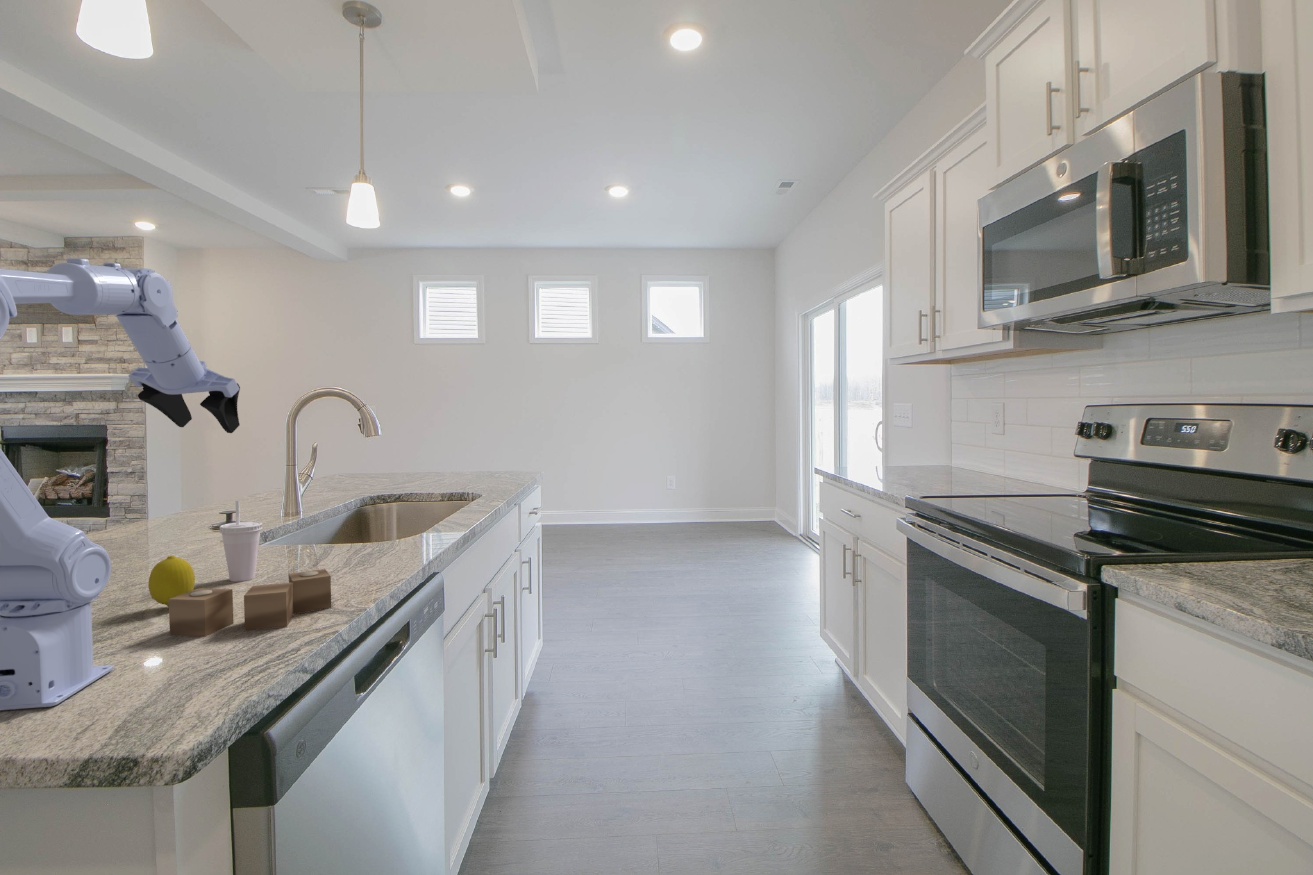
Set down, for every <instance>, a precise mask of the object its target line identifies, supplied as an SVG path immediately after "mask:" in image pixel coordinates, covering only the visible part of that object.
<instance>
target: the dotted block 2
mask: <svg viewBox="0 0 1313 875" xmlns="http://www.w3.org/2000/svg"><path fill="white" fill-rule="evenodd" d="M331 578H332V577H331V574H330V573H329V572H328V570H326V568H323V569H322V568H321V569H316V570H315V569H314V570H307V571H299V572H294V573H288V583H292V582H293V615H297V614H301V613H309V612H313V610H315V611H319V610H320V609H321V610H324V609H323V608H327V609H332V585H331V584H332V583H331V582H332V580H331ZM308 611H309V612H308Z"/></svg>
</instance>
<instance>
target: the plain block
mask: <svg viewBox="0 0 1313 875" xmlns="http://www.w3.org/2000/svg"><path fill="white" fill-rule="evenodd" d="M243 608H244V610H243V611H244V616H243V617H244V632H250V631H260V630H270V629H279V628H288V626H289V624H290V622H291V621H292V619H293V618H294V614H293V582H292V583H289V582H281V583H272V584H257V585H252V586H251V587H250V588H249V589H248V591H247V592H246V593H245V594H244V595H243Z"/></svg>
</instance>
